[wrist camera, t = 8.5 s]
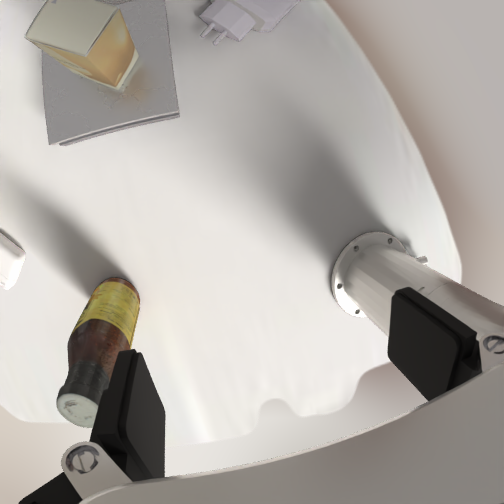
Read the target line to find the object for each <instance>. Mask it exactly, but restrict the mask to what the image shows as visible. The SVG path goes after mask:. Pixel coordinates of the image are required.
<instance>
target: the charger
mask: <svg viewBox="0 0 504 504" xmlns="http://www.w3.org/2000/svg"><path fill="white" fill-rule="evenodd" d="M299 1H300V0H210V2H211V3H212V4H211V5H210V6H209V7H208V8H207V9H206V10H205V11H204V12H203V13H202V14H201V15H200V17H201V19H202V20H203V21H204V22H206V23H207V24H208V25H209V26H208V27H207V28H206V29H205V30H204V31H203V33H202V34H201V35H200V36H201V37H205V36H206V35H207V34H208V33H209V31H210V30H211V29H212V28H213V29H215V30H217V31H218V32H220V33H221V34H220V35H219V36H218V37H217V38H216V39H215V41H214V42H213V44H214V45H217V44H218V43H219V42H220V41H221V39H222V38H223V37H224V36H226V37H228V38H231V39H233V40H236V41H241V39H242V38H243V37H244V36H245V35H246V34H247V33H248V32H249V31H250V30H251V29H254V30H255V31H258V32H269V31H271V30H272V29H273V28H274V27H275V26H276V25H277V23H278V22H279V21H280V20H281V19H282V18H283V17H284V16H285V15H286V14H287V13H288V12H289V11H290V10H291V9H292V8H293V7H294V6H295V5H296V4H297V3H298V2H299Z"/></svg>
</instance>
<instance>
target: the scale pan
mask: <svg viewBox="0 0 504 504" xmlns="http://www.w3.org/2000/svg"><path fill="white" fill-rule="evenodd" d="M117 6H119V8H120V10H121V13H122V15H123V18H124V20H125V23H126V25H127V28H128V30H129V33H130V35H131V38H132V40H133V43H134V45H135V48H136V50H137V52H138V55H139V57H138V59H137V61H136V62H135V64H134V66H133V67H132V69H131V71H130V72H129V74H128V76H127V77H126V79H125V81H124V82H123V84H122V86H121V87H120V89H119V90H116V89H114V88H111V87H108V86H105V85H103V84H100V83H97V82H94V81H92V80H89V79H87V78H85V77H82V76H80V75H78V74H75V73H73V72H72V71H70V70H69V69H68V68H66V67H65V66H64V65H62V64H61V63H60V62H58V61H57V60H55V59H54V58H53V57H51V56H50V55H49V54H47V53H46V52H44V51H43V50H42V76H43V93H44V106H45V116H46V125H47V134H48V141H49V145H55V144H58V143H61V142H65V141H68V140H71V139H74V138H77V137H80V136H84V135H87V134H91V133H94V132H98V131H101V130H105V129H108V128H112V127H116V126H120V125H124V124H128V123H132V122H136V121H140V120H145V119H149V118H154V117H159V116H163V115H168V114H174V113H179V111H178V104H177V97H176V90H175V83H174V75H173V68H172V60H171V52H170V44H169V35H168V27H167V17H166V8H165V0H134V1H129V2H125V3H121V4H117Z"/></svg>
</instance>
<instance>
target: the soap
mask: <svg viewBox="0 0 504 504" xmlns="http://www.w3.org/2000/svg"><path fill="white" fill-rule="evenodd" d="M25 257H26V253H25V252H24V251H23V250H22V249H20V248H19V247H18V246H17V245H15V244H14V243H13V242H11V241H10V240H9V239H8V238H7V237H5V236H4V235H3V234H2V233H0V285H1V286H2V287H3V288H4V289H10V288H11V287H12V286H13V285H14V284H15V283H16V281H17V278H18V275H19V273H20V270H21V268H22V265H23V262H24V260H25Z"/></svg>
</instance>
